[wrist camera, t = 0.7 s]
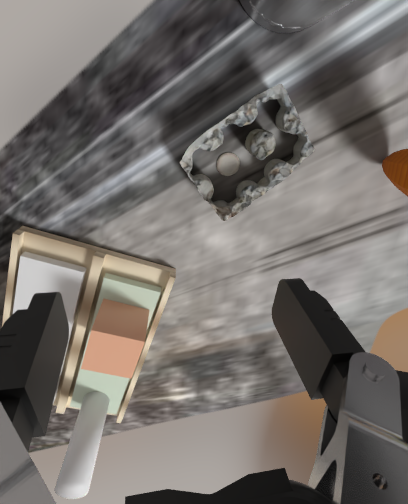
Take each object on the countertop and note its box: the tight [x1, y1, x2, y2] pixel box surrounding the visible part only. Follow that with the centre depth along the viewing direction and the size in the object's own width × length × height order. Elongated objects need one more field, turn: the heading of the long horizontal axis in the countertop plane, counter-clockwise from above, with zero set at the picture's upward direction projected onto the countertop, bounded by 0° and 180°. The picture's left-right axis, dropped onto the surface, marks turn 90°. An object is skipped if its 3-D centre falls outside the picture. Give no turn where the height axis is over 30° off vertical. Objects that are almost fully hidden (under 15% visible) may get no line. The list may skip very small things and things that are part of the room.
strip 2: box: [55, 273, 161, 499], centre depth 31 cm, size 20×6×11 cm, turn 160°
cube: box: [81, 298, 149, 379], centre depth 31 cm, size 5×5×5 cm
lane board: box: [2, 226, 176, 423], centre depth 36 cm, size 24×16×2 cm, turn 160°
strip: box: [13, 251, 86, 403], centre depth 30 cm, size 20×6×11 cm, turn 160°
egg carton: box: [180, 84, 315, 221], centre depth 27 cm, size 11×8×4 cm
